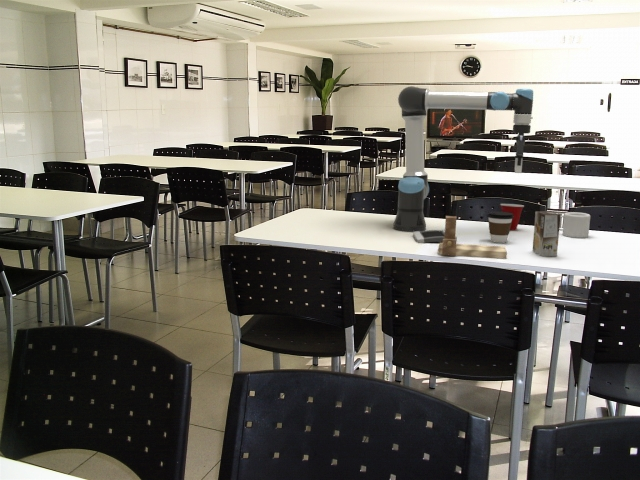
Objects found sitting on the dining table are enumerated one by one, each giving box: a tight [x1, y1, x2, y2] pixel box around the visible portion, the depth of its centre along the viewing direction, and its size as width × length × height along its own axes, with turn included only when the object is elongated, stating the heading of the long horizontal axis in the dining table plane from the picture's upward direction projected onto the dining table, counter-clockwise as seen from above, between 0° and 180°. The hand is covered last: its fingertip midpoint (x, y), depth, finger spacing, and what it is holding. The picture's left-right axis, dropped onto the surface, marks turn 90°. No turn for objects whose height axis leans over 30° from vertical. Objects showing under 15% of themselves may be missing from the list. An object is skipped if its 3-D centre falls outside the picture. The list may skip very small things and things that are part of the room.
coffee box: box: [532, 210, 562, 257], centre depth 236 cm, size 9×6×16 cm
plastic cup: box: [499, 203, 525, 231], centre depth 287 cm, size 11×11×12 cm
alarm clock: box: [412, 229, 458, 244], centre depth 262 cm, size 17×5×16 cm
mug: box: [559, 211, 591, 239], centre depth 274 cm, size 14×11×10 cm
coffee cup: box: [486, 210, 514, 244], centre depth 259 cm, size 11×11×12 cm
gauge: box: [442, 215, 458, 257], centre depth 235 cm, size 5×14×14 cm, turn 167°
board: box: [437, 242, 508, 259], centre depth 235 cm, size 25×10×3 cm, turn 77°
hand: (517, 171), depth 279 cm, fingers open, 13 cm apart
